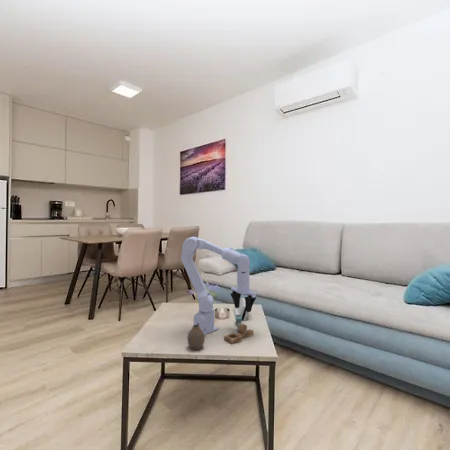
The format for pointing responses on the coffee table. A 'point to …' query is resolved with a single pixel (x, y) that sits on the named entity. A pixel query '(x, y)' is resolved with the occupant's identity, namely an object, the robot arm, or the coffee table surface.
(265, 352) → the coffee table surface
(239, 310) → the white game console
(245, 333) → the link
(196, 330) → the vase
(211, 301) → the robot arm
